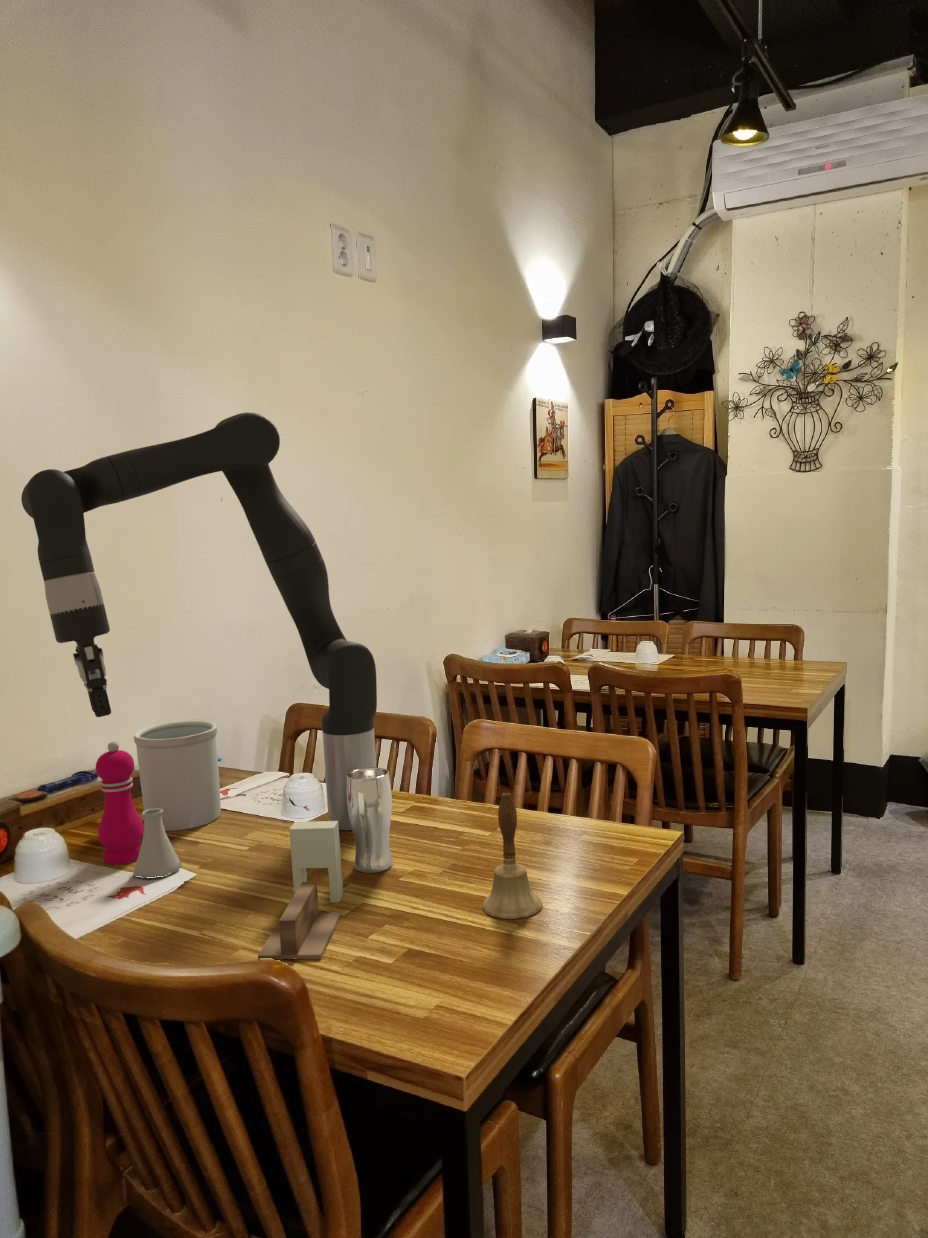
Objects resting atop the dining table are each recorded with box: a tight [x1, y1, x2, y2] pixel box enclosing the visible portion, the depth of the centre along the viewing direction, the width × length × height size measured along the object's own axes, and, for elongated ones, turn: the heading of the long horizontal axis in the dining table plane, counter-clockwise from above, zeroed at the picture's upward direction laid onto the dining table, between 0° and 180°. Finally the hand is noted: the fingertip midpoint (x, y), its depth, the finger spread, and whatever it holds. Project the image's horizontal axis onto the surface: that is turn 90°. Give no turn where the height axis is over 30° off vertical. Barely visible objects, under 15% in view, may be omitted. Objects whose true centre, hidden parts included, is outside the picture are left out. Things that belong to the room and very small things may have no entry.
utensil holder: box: [133, 719, 222, 832], centre depth 168 cm, size 15×15×18 cm
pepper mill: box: [95, 741, 144, 866], centre depth 149 cm, size 7×7×20 cm
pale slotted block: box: [289, 820, 344, 904], centre depth 129 cm, size 6×3×11 cm, turn 86°
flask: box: [132, 808, 182, 879], centre depth 143 cm, size 7×7×10 cm
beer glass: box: [347, 767, 394, 874], centre depth 140 cm, size 7×7×15 cm
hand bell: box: [481, 792, 543, 920], centre depth 123 cm, size 8×8×16 cm
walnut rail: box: [257, 881, 342, 961], centre depth 117 cm, size 12×8×5 cm, turn 176°
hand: (102, 713), depth 133 cm, fingers open, 8 cm apart
